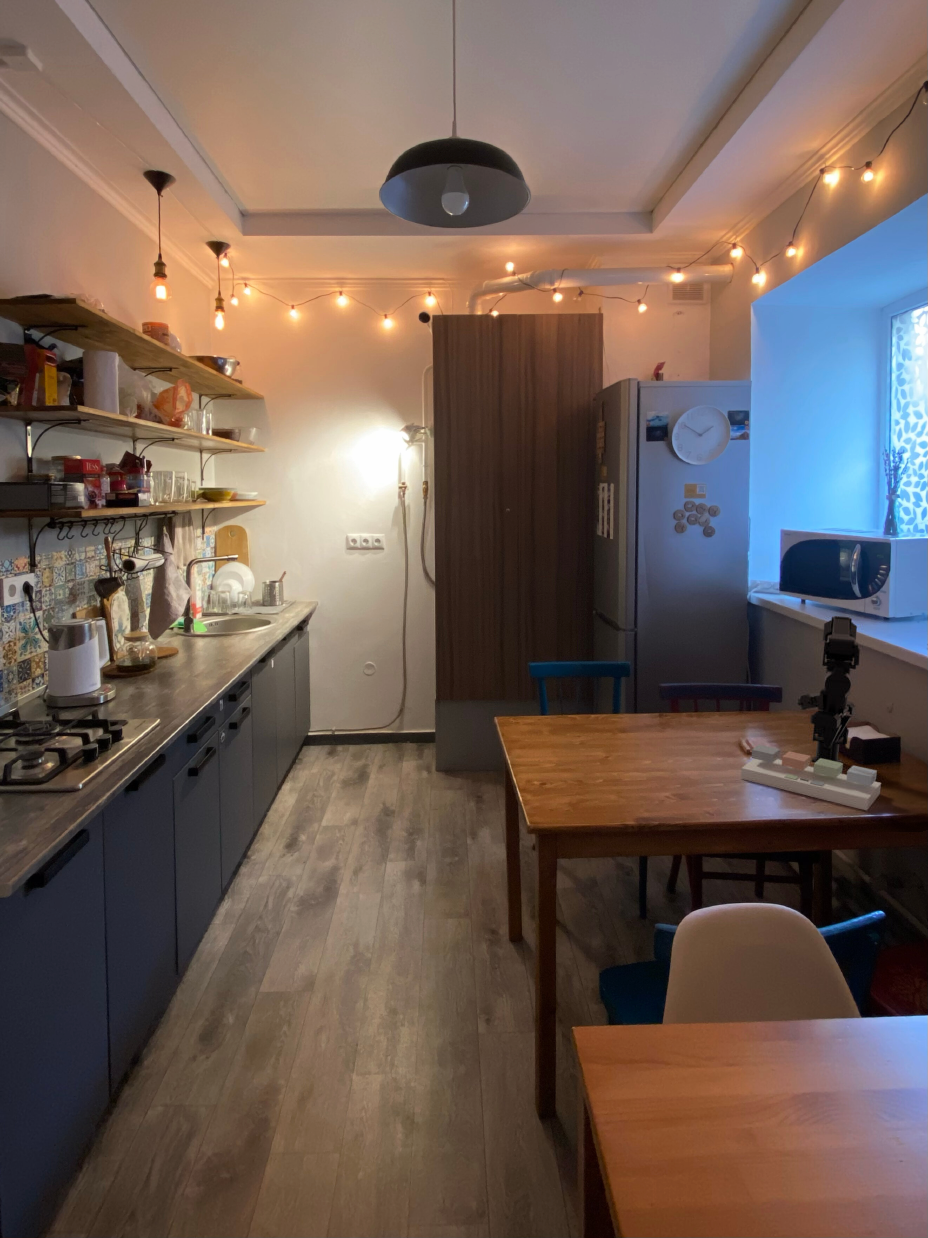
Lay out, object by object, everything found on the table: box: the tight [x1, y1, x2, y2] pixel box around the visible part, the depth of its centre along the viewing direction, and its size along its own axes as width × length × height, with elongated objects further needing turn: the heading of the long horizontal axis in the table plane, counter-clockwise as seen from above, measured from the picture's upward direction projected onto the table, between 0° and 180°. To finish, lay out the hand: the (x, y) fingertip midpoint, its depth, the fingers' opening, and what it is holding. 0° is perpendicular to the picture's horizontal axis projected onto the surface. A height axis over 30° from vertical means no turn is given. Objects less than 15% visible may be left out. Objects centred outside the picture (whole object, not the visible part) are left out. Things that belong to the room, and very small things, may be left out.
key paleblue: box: [846, 765, 878, 786], centre depth 196 cm, size 6×6×2 cm
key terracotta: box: [781, 750, 812, 770], centre depth 206 cm, size 6×6×2 cm
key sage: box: [813, 758, 844, 778], centre depth 201 cm, size 6×6×2 cm
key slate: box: [751, 744, 781, 763], centre depth 212 cm, size 6×6×2 cm
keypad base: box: [740, 758, 882, 811], centre depth 204 cm, size 14×31×3 cm, turn 50°
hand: (830, 745), depth 201 cm, fingers open, 5 cm apart
